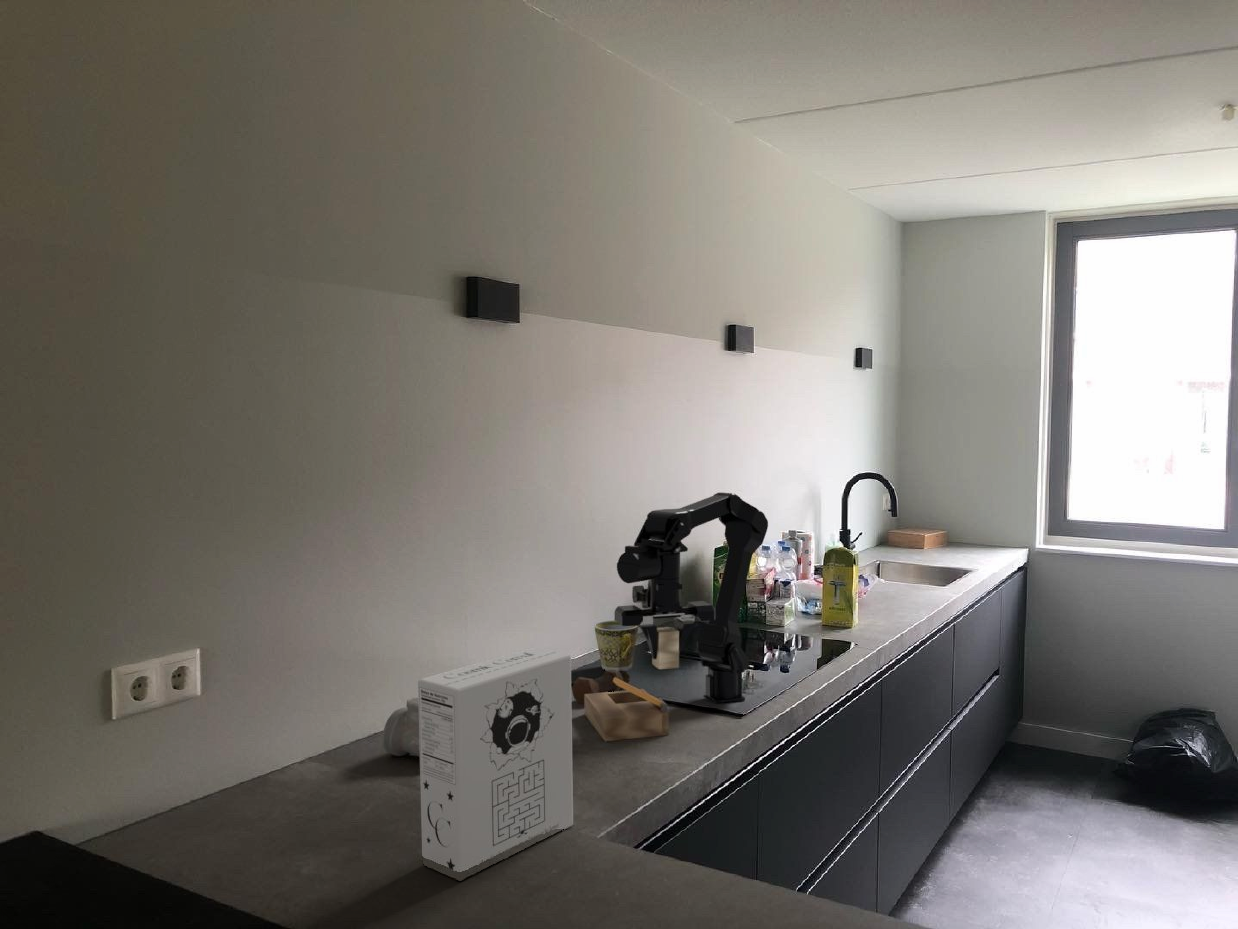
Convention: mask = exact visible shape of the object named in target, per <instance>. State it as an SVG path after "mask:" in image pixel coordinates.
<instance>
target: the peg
mask: <svg viewBox="0 0 1238 929" xmlns="http://www.w3.org/2000/svg"><path fill="white" fill-rule="evenodd" d="M651 665H653V666H654V668H656V669H658V670H666V669H668V670H669V669H677V668H680V653H679V631H678V630H676V629H675V627H673V626H664V627H657V657H656V659H653V658H652V657H651Z"/></svg>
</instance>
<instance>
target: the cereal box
mask: <svg viewBox="0 0 1238 929" xmlns="http://www.w3.org/2000/svg"><path fill="white" fill-rule="evenodd" d="M417 689H418V690H417V696H418V703H419V744H420V757H419V776H420V778H419V779H420V780H419V781H420V819H421V856H423V857H424V858H426V859H429V860H432V861H434V862H436V863H438V864H441V865H444V866H446V867H448V868H450V869H451V870H453V871H457V872H462V871H465V870H468V869H469V868H471V867H473V866H475V865H479V864H480V863H482V862H484V861H486V860H487V859H491V858H493V857H494V856H496V855H498V854H500V853H502V852H505V851H507V850H509V849H510V848H512V847H514V846H517V845H519V844H520V843H523V842H525V841H527V840H531V839H532V838H534V837H536V836H538V835H540V834H545V833H546V832H549V831H550V830H554V829H564V830H566V829H569V828H570V827H572V826H573V825H574V799H573V798H574V796H573V795H574V792H573V791H574V789H573V788H574V786H573V783H574V782H573V730H572V728H573V727H572V725H573V721H572V720H573V717H572V715H573V714H572V713H573V712H572V656H571V655H570V654H567V653H563V652H560V651H559V652H558V651H555V650H549V649H545V648H540V647H535V646H532V647H530V648H526V649H522V650H518V651H516V652H511V653H508V654H504V655H501V656H498V657H493V658H491V659H487V660H483V661H480V662H477V663H476V662H475V663H473V664H469V665H465V666H462V667H459V668H455V669H451V670H447V671H445V672H441V673H438V674H434V675H431V676H427V677H424V678H419V680H418V681H417Z"/></svg>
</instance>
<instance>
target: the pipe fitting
mask: <svg viewBox="0 0 1238 929" xmlns="http://www.w3.org/2000/svg"><path fill="white" fill-rule="evenodd" d="M381 738H382V739H381V742H382V747H383V749H384V751H385V752H386V753H388V754H391V755H393V756H396V757H402V756H405V755H408V754H411V755H414V756H417V757H419V758H420V744H419V703H418V697H410V698H407V700H406V707H401V708H398V709H397V710H394V712H392V713H391V714H390V716H389V717H388V718H387V720H386V722H385V724H384V728H383V731H382V737H381Z"/></svg>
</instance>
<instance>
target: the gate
mask: <svg viewBox="0 0 1238 929" xmlns="http://www.w3.org/2000/svg"><path fill="white" fill-rule="evenodd" d="M613 682H614V683H615V684H616V685H617V686H619V687H621V689H623V690H624V691H625V690H627V691H629V692H631V693H633V694H635V695H637V696H639V697H641V698H643V699H645V700H647V701H649V702H651V703H653V704H655V705H657V706H659V707H660V708H661V703H666V702H665V701H664V700H663V699H662V698H656V697H654V696H653V695H651V694H650V693H649V692H647V691H646V692H647V693H646V692H644V691H642V690H640V689H641V688H640V689H639V688H638V687H636V686H633V685H632V684H629V683H626V682H624V681H622V680H620V679H618V678H616V677H614V679H613Z"/></svg>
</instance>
